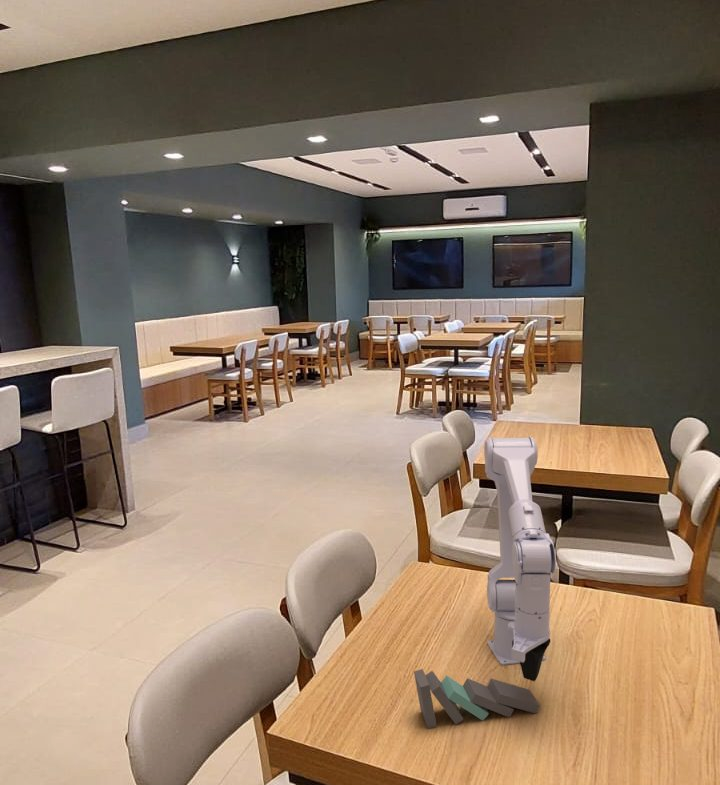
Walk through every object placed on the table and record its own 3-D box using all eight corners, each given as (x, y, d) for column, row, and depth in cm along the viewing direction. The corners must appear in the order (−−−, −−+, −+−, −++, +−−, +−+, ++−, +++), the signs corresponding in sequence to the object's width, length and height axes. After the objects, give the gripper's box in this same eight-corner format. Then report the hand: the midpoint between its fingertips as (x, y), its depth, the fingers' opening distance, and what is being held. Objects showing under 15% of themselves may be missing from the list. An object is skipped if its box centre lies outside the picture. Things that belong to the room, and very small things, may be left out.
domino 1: (429, 708, 108) (422, 669, 106) (436, 726, 104) (429, 684, 102) (421, 711, 108) (413, 671, 106) (427, 728, 103) (420, 687, 102)
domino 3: (504, 693, 110) (467, 678, 108) (514, 709, 105) (475, 694, 104) (500, 700, 110) (462, 685, 108) (509, 717, 106) (470, 702, 104)
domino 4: (529, 689, 110) (490, 678, 109) (540, 705, 106) (500, 694, 105) (525, 697, 111) (487, 686, 109) (536, 713, 106) (496, 702, 105)
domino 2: (455, 702, 108) (432, 670, 107) (463, 719, 104) (439, 686, 102) (448, 707, 108) (424, 675, 107) (455, 724, 104) (431, 691, 102)
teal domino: (479, 697, 109) (446, 675, 107) (488, 713, 105) (454, 691, 103) (474, 704, 109) (440, 682, 107) (482, 720, 105) (448, 698, 103)
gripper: (523, 583, 113) (521, 650, 116) (494, 618, 101) (493, 692, 104) (561, 592, 110) (559, 661, 112) (536, 630, 98) (534, 707, 100)
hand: (530, 677), depth 108 cm, fingers closed
